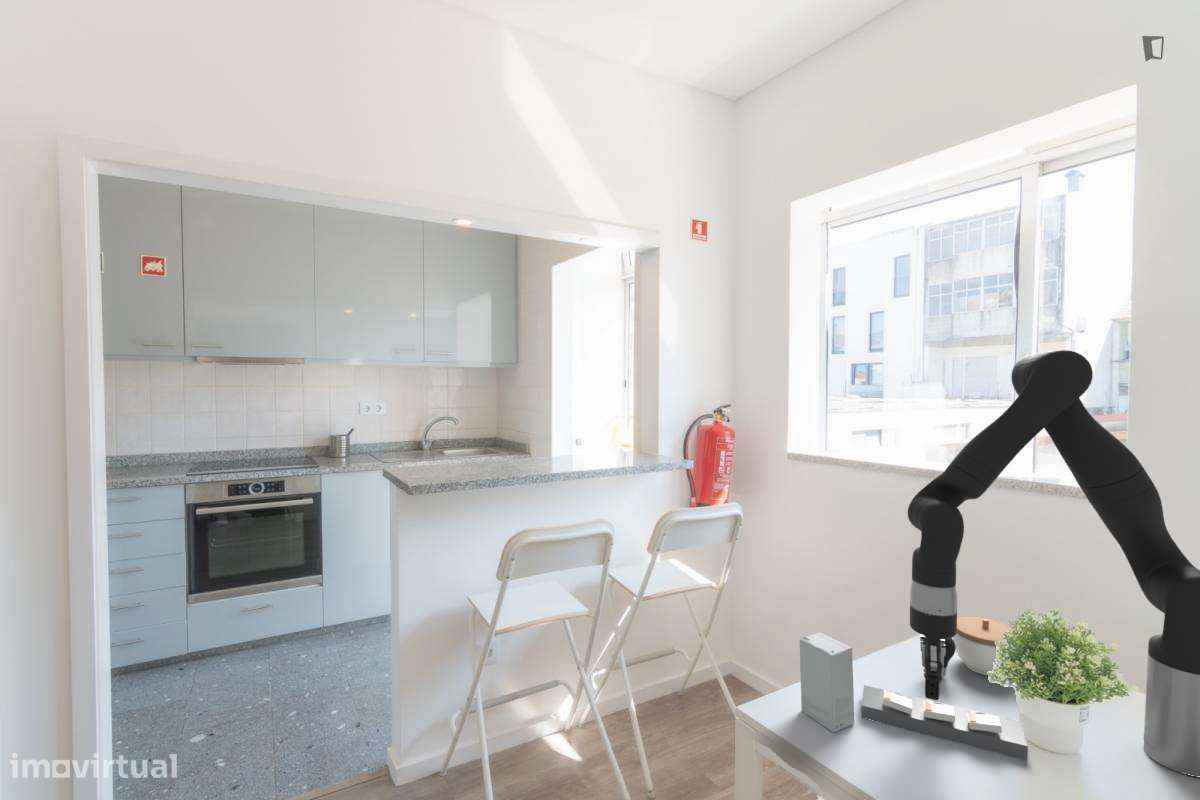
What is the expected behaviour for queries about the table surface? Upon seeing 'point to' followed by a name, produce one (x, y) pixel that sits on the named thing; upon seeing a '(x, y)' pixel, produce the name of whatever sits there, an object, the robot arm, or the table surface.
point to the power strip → (946, 724)
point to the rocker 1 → (897, 702)
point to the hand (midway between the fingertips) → (931, 697)
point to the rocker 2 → (984, 722)
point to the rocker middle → (939, 711)
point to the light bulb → (948, 653)
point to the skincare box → (827, 681)
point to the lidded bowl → (978, 642)
